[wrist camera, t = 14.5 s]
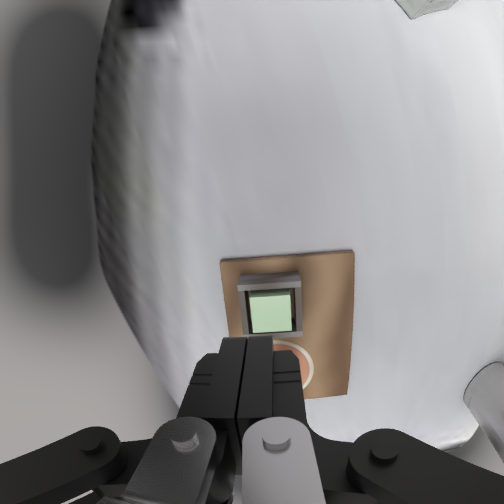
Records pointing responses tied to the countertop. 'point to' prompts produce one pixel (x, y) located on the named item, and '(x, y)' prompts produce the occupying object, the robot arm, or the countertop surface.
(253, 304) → the button
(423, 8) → the skincare box
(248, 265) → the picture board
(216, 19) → the countertop surface
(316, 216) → the countertop surface
